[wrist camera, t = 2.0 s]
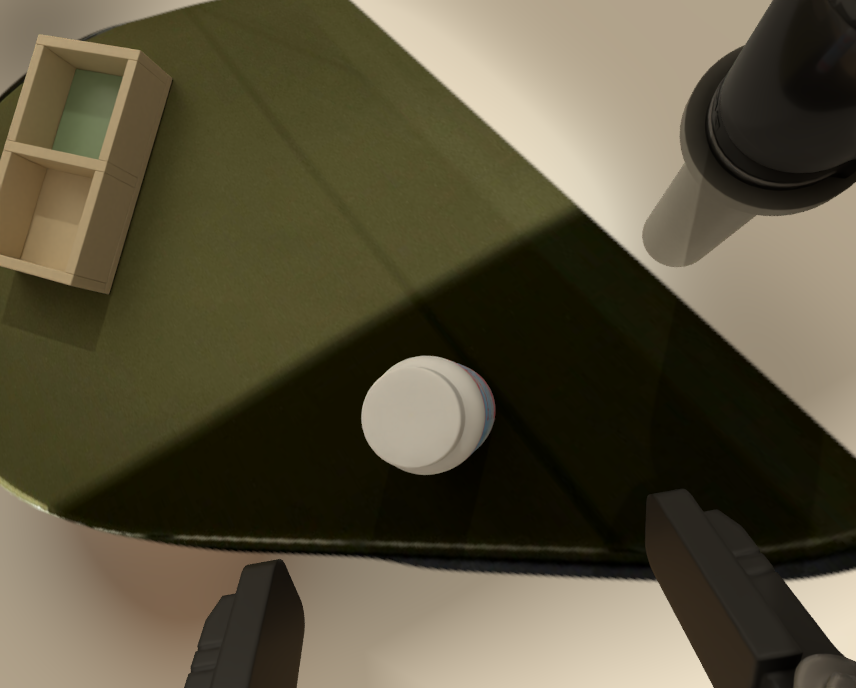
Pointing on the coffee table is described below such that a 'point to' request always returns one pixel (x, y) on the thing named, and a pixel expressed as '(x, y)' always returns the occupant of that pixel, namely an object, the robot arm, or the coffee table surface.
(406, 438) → the pill bottle
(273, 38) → the coffee table surface
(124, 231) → the holder
